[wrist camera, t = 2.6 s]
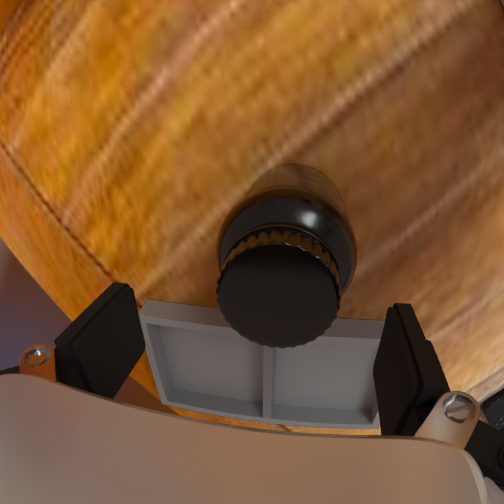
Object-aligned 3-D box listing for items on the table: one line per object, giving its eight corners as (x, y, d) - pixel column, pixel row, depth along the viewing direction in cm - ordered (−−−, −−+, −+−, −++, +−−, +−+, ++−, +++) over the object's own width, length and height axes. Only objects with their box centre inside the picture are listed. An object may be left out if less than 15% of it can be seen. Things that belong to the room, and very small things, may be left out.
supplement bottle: (310, 269, 24) (299, 389, 14) (231, 222, 24) (163, 316, 13) (362, 195, 21) (404, 280, 11) (278, 142, 21) (236, 174, 10)
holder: (406, 321, 25) (412, 339, 22) (376, 410, 30) (377, 428, 27) (148, 299, 29) (136, 314, 26) (170, 388, 34) (161, 403, 31)
